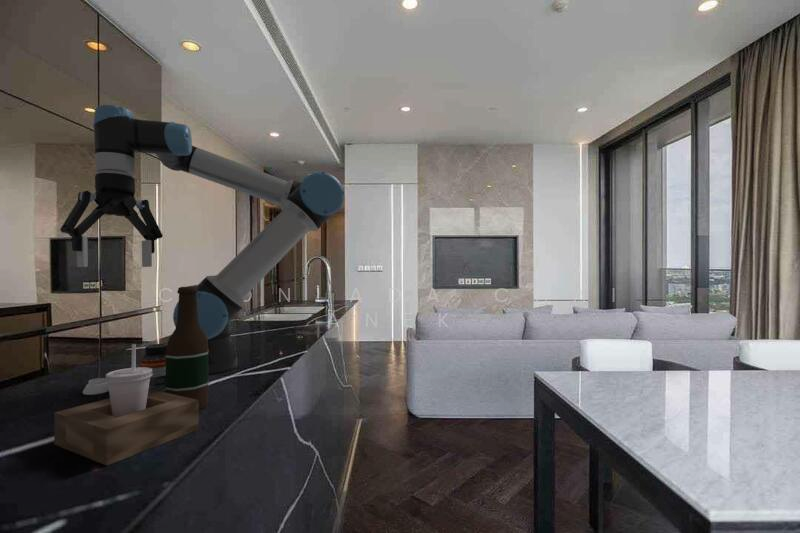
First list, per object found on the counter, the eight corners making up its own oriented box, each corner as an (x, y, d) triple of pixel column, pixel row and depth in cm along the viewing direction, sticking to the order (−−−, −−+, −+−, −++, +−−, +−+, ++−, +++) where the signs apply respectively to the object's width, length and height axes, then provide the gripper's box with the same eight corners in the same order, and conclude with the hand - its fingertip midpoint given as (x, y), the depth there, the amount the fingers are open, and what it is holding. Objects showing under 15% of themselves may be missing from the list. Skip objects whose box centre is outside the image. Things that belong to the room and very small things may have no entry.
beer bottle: (179, 401, 81) (179, 286, 82) (216, 401, 81) (216, 286, 82) (155, 415, 74) (156, 287, 74) (197, 414, 74) (197, 287, 74)
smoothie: (157, 430, 64) (157, 344, 64) (108, 443, 59) (109, 350, 59) (147, 420, 68) (147, 340, 69) (101, 431, 64) (101, 345, 64)
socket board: (146, 415, 74) (146, 388, 74) (198, 429, 67) (198, 399, 67) (54, 444, 61) (54, 412, 61) (106, 465, 54) (107, 429, 54)
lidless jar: (77, 397, 85) (102, 395, 86) (77, 383, 85) (102, 382, 86) (91, 390, 90) (115, 389, 91) (91, 377, 90) (115, 376, 91)
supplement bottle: (143, 395, 85) (143, 343, 86) (174, 392, 88) (174, 341, 88) (136, 404, 80) (136, 348, 80) (170, 400, 82) (170, 346, 82)
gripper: (158, 187, 104) (160, 267, 103) (39, 165, 81) (40, 267, 81) (177, 183, 100) (178, 266, 100) (57, 159, 78) (59, 266, 78)
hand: (116, 266), depth 91 cm, fingers open, 13 cm apart
